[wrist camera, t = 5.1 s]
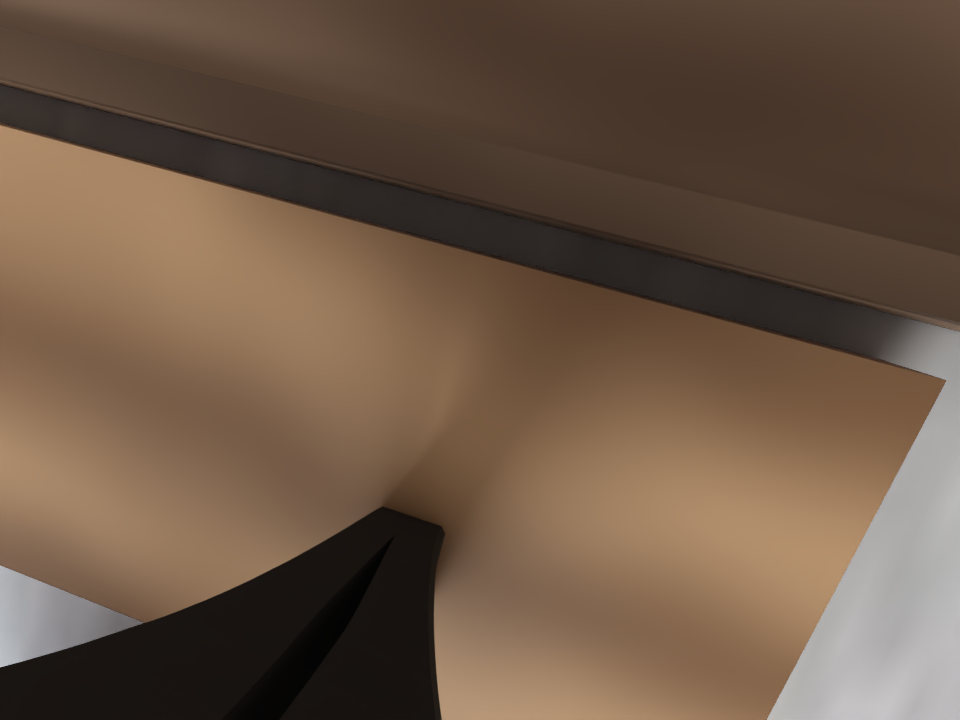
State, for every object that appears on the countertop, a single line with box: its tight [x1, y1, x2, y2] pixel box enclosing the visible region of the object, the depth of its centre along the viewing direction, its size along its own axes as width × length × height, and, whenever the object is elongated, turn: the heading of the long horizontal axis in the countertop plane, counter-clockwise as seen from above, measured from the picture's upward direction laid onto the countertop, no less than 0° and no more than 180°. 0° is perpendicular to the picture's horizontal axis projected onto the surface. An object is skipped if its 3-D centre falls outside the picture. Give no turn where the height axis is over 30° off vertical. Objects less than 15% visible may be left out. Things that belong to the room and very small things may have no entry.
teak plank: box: [0, 123, 946, 720], centre depth 10 cm, size 10×26×2 cm, turn 75°
